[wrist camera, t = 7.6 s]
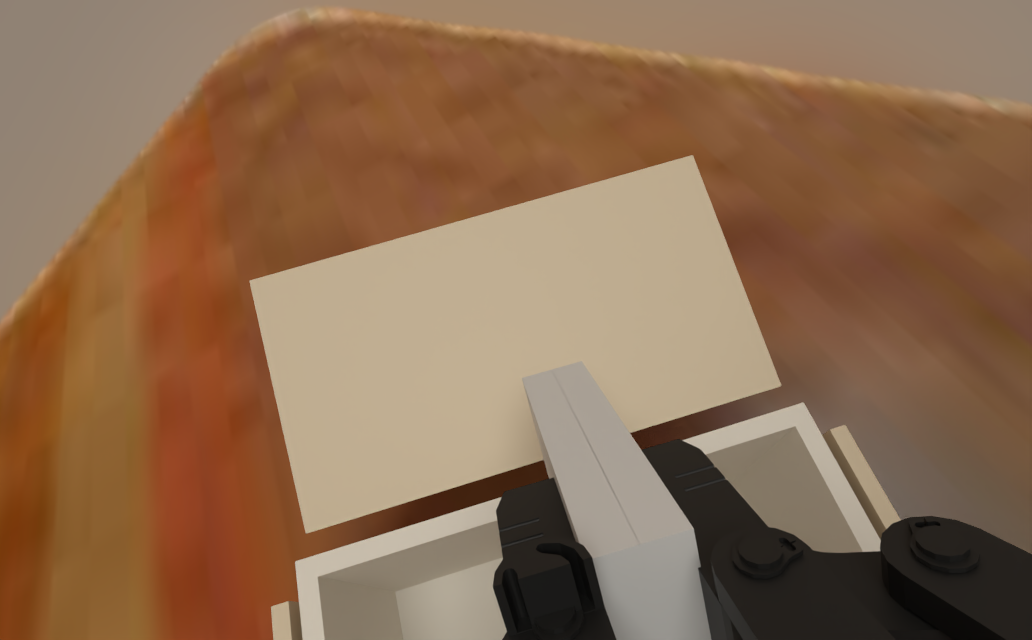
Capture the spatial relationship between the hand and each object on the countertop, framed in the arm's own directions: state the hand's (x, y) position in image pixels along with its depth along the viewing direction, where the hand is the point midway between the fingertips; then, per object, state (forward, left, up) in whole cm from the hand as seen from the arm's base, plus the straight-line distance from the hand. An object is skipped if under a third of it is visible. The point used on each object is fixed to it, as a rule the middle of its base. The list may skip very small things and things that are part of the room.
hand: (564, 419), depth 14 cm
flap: (+1, 0, -4) cm, 4 cm away
